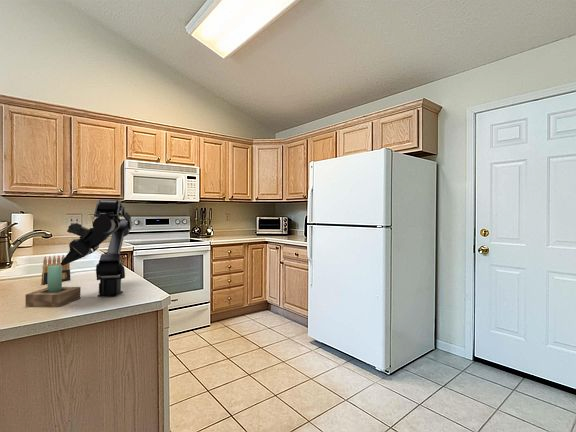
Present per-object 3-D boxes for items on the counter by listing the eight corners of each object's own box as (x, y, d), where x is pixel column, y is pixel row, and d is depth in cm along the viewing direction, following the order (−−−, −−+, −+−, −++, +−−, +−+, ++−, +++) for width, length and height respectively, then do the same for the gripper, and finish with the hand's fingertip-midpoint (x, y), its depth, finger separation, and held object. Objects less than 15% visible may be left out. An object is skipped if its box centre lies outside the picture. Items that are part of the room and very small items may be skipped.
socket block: (80, 297, 115) (80, 286, 115) (59, 306, 104) (59, 294, 104) (49, 297, 115) (49, 286, 115) (25, 306, 104) (25, 294, 104)
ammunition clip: (43, 284, 134) (43, 256, 133) (41, 284, 134) (41, 256, 134) (70, 280, 143) (70, 254, 143) (68, 279, 144) (68, 253, 144)
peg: (64, 300, 111) (64, 265, 111) (56, 303, 107) (56, 267, 107) (52, 300, 111) (53, 265, 111) (44, 303, 107) (44, 267, 107)
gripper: (89, 215, 121) (54, 244, 117) (77, 215, 103) (35, 249, 99) (112, 235, 124) (79, 265, 119) (104, 238, 106) (65, 273, 102)
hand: (65, 262), depth 110 cm, fingers open, 9 cm apart
